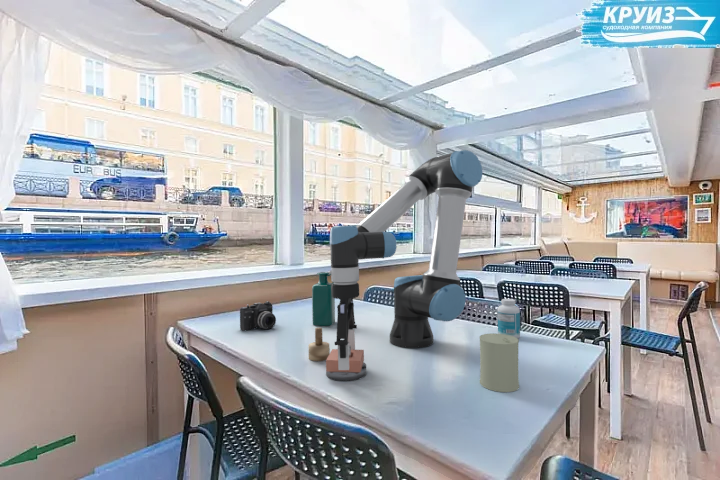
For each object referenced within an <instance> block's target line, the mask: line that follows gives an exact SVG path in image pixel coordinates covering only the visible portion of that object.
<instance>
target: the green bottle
mask: <svg viewBox="0 0 720 480" xmlns="http://www.w3.org/2000/svg"><path fill="white" fill-rule="evenodd" d="M316 275H318V282H317V283H315V284H313V285H312V287H311V297H312V298H311V305H312V307H311V308H312V309H311V311H312V314H311V315H312V325H313V326H315V327H316V326H317V327H329V326H332V325H333V324H334V323H335V322H336V301H335V300H336V298H333V297H332V290H331V285H332V284H333V283H334V282H332V281H331V282H329V280H328V278H329V277H331V275H332V274H329V271H320V272H316Z"/></svg>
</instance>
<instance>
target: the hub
mask: <svg viewBox="0 0 720 480" xmlns="http://www.w3.org/2000/svg"><path fill="white" fill-rule="evenodd" d="M348 344H349V342H348ZM349 357H351V345H349ZM325 375H326V378H329V380H332V381H337V382H354V381H357V380H361V379H363V378H365V376H366V375H367V364H366V363H365V361H364V362H363V365H362V369H361V372H327V371H326V370H325Z"/></svg>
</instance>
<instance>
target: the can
mask: <svg viewBox="0 0 720 480" xmlns="http://www.w3.org/2000/svg"><path fill="white" fill-rule="evenodd" d="M519 342H520V340H519V338H518V339H517V338H516V337H513V336H510V335H505V334H498V333H484V334H481V335H480V336H479V359H480V360H479V362H480V364H479V365H480V369H479V372H480V375H479V377H480V378H479V384H480V385H481V387H483V388H485V389H487V390H490V391H492V392H499V393H513V392H516V391H518V390H519V389H520V384H519V383H520V382H519V381H520V380H519Z"/></svg>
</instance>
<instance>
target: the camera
mask: <svg viewBox="0 0 720 480" xmlns="http://www.w3.org/2000/svg"><path fill="white" fill-rule="evenodd" d="M239 308H240V309H239V326H240V327H239V329H240V331H241V330H242V332H246V331H250V330H254V328H255V329H259V328H261V329H265V330H267V329H272V328H273V327H274V326H275V325H276V321H277V318H276V316H275V314H274V313H273V304H272V302H271V301H270V300H269V301H267V300H266V301H265V302H263V303H262V302H254V303H253V304H251V305H250V304H248V303H247V304H246V306H243V307H242V306H241V307H239ZM245 330H246V331H245Z"/></svg>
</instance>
